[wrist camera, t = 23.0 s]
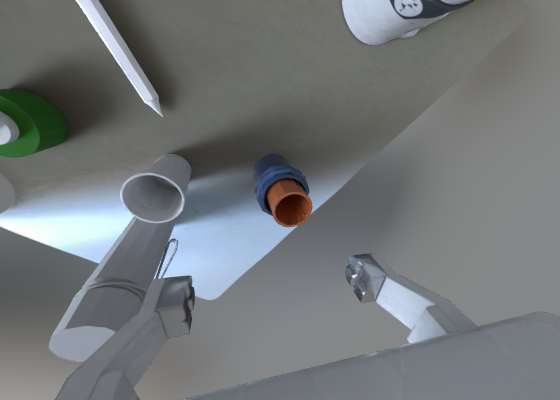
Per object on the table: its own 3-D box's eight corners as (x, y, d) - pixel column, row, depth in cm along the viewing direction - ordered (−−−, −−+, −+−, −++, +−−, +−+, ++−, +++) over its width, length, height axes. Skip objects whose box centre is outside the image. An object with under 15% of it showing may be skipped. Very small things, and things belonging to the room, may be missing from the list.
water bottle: (130, 219, 41) (26, 358, 20) (152, 192, 40) (64, 312, 18) (172, 239, 46) (124, 371, 24) (193, 216, 44) (161, 335, 23)
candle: (-18, 119, 29) (-119, 131, 21) (9, 75, 28) (-87, 69, 19) (50, 157, 33) (-10, 181, 25) (78, 121, 32) (23, 133, 23)
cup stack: (266, 147, 40) (278, 166, 30) (296, 165, 44) (316, 189, 34) (246, 178, 43) (252, 207, 33) (276, 193, 46) (290, 224, 36)
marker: (165, 117, 35) (85, -5, 26) (173, 113, 34) (94, -14, 25) (154, 122, 33) (64, -7, 24) (162, 118, 32) (73, -17, 24)
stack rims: (272, 154, 33) (275, 159, 31) (313, 179, 37) (318, 185, 35) (245, 197, 36) (246, 204, 33) (287, 216, 40) (290, 223, 37)
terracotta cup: (274, 162, 36) (288, 184, 27) (299, 177, 39) (319, 202, 30) (256, 188, 38) (265, 218, 29) (282, 201, 40) (296, 232, 32)
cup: (193, 150, 38) (181, 173, 28) (197, 188, 41) (187, 221, 31) (145, 148, 36) (112, 172, 26) (154, 189, 40) (128, 224, 29)
